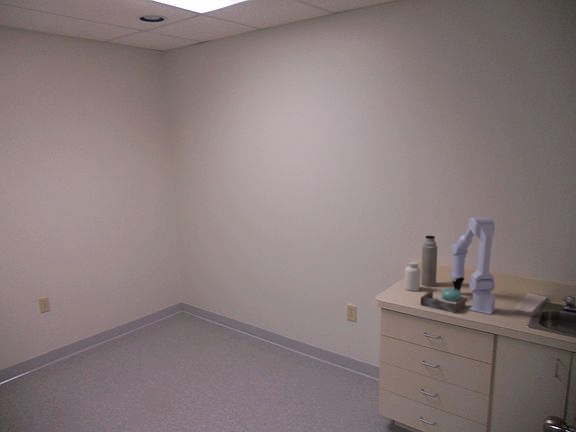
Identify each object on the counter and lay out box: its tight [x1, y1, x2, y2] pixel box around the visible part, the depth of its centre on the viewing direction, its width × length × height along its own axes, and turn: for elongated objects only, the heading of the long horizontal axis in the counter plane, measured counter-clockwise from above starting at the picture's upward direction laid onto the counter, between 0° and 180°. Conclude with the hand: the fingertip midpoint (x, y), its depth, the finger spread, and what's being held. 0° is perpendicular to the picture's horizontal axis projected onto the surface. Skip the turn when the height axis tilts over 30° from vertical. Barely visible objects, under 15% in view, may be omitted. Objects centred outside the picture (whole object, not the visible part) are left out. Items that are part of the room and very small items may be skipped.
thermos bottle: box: [420, 235, 438, 288], centre depth 237 cm, size 8×8×28 cm
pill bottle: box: [404, 261, 421, 292], centre depth 231 cm, size 8×8×15 cm
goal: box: [420, 290, 467, 314], centre depth 207 cm, size 17×12×4 cm
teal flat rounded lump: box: [441, 287, 462, 303], centre depth 216 cm, size 9×9×4 cm
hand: (457, 291), depth 223 cm, fingers closed
